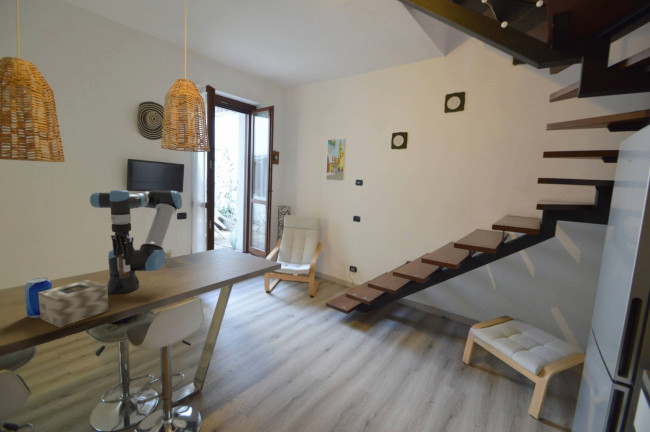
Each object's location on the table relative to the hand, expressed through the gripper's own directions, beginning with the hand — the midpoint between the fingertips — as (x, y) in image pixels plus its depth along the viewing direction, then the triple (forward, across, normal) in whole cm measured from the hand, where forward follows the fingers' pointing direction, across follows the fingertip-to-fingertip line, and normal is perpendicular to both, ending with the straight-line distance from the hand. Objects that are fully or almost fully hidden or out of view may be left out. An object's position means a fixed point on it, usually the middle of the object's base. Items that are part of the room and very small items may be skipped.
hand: (124, 270), depth 136 cm
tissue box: (+17, -9, -16) cm, 25 cm away
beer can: (+17, -22, -23) cm, 36 cm away
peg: (+3, 0, 0) cm, 3 cm away
